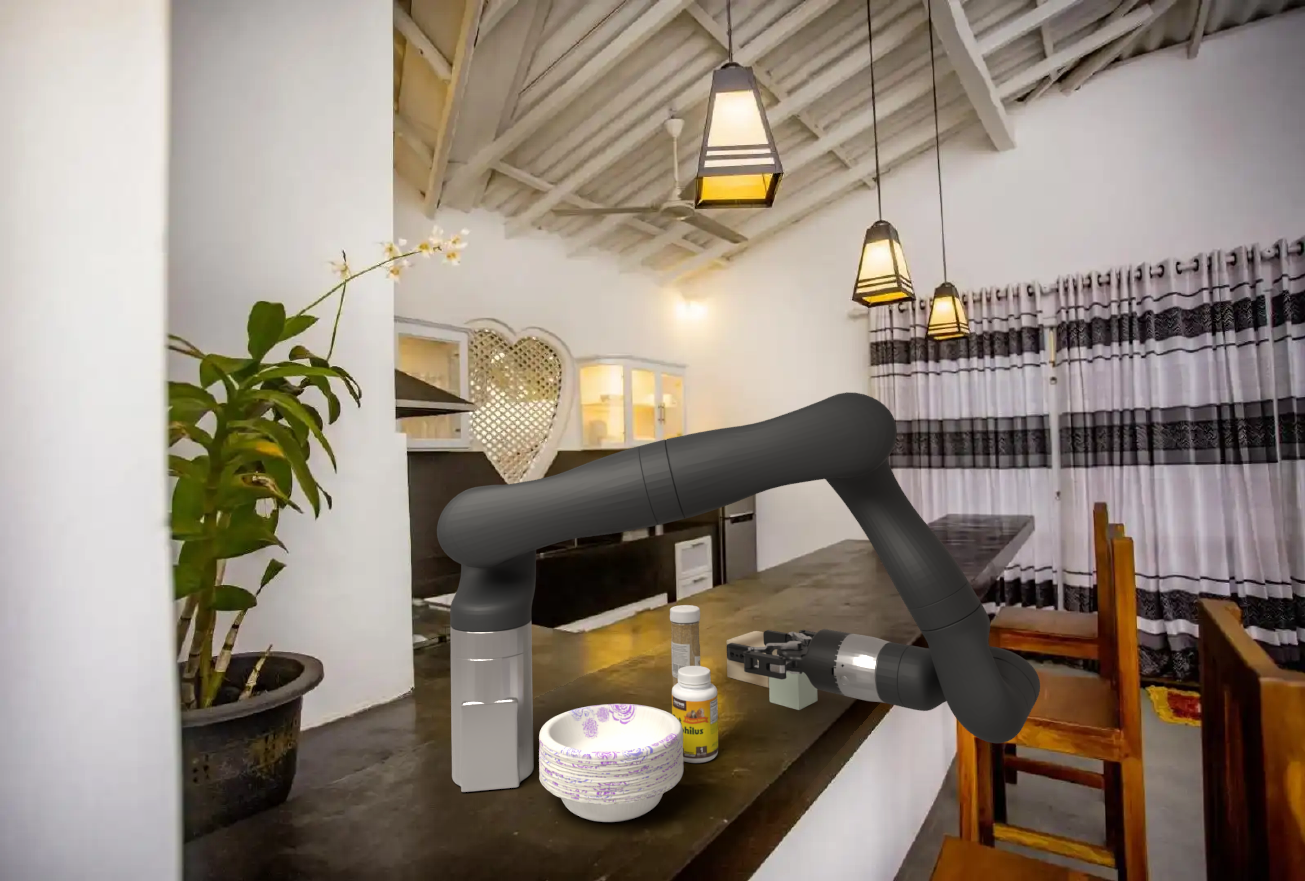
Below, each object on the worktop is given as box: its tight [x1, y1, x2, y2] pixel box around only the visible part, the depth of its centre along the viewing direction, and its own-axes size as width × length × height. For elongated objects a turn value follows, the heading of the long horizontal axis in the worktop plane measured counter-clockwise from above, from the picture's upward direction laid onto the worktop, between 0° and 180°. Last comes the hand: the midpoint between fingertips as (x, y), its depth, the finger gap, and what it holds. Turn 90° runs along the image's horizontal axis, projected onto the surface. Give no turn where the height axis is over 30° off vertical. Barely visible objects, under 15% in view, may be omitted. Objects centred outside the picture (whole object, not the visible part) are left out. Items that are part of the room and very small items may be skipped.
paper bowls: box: [538, 703, 684, 823], centre depth 72 cm, size 15×15×8 cm
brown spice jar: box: [669, 604, 702, 687], centre depth 103 cm, size 5×5×13 cm
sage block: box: [768, 672, 818, 711], centre depth 100 cm, size 5×5×6 cm
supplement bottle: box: [671, 665, 719, 764], centre depth 83 cm, size 6×6×10 cm
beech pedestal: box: [726, 630, 777, 688], centre depth 112 cm, size 8×8×6 cm
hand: (747, 644), depth 95 cm, fingers open, 8 cm apart
